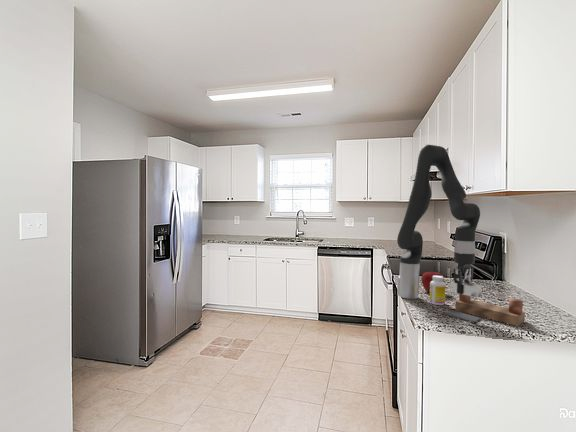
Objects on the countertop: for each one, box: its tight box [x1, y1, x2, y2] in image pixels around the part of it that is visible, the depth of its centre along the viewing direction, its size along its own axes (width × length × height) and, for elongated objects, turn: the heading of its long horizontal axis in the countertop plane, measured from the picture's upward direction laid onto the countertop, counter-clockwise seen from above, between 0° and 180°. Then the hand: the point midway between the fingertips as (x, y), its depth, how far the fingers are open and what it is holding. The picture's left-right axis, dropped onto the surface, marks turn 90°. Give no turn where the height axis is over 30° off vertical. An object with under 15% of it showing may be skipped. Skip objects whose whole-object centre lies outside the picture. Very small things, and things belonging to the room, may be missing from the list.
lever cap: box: [450, 280, 483, 298], centre depth 129 cm, size 11×5×4 cm, turn 39°
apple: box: [420, 271, 445, 294], centre depth 167 cm, size 11×11×12 cm
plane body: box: [454, 293, 526, 327], centre depth 133 cm, size 23×9×11 cm, turn 39°
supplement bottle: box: [429, 275, 446, 306], centre depth 148 cm, size 7×7×13 cm
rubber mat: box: [443, 309, 482, 323], centre depth 131 cm, size 12×7×1 cm, turn 39°
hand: (463, 292), depth 130 cm, fingers closed on lever cap, 5 cm apart
